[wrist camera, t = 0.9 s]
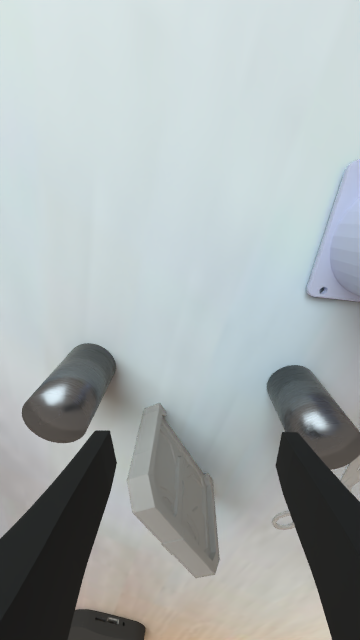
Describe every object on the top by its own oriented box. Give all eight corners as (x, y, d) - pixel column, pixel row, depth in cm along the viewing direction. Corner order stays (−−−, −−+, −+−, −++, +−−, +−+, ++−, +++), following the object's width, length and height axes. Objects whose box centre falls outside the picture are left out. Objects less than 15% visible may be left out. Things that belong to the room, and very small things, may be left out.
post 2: (322, 367, 19) (375, 428, 14) (306, 405, 21) (348, 473, 15) (273, 362, 19) (307, 421, 14) (261, 400, 21) (288, 466, 15)
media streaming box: (124, 645, 48) (120, 671, 45) (55, 629, 46) (46, 655, 43) (152, 621, 42) (149, 649, 40) (75, 602, 40) (67, 630, 38)
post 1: (115, 346, 19) (85, 398, 13) (116, 385, 21) (89, 445, 15) (66, 341, 19) (16, 391, 13) (71, 380, 21) (27, 439, 15)
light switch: (198, 483, 26) (201, 586, 19) (143, 408, 22) (120, 502, 14) (213, 479, 25) (222, 583, 18) (159, 402, 21) (144, 495, 14)
